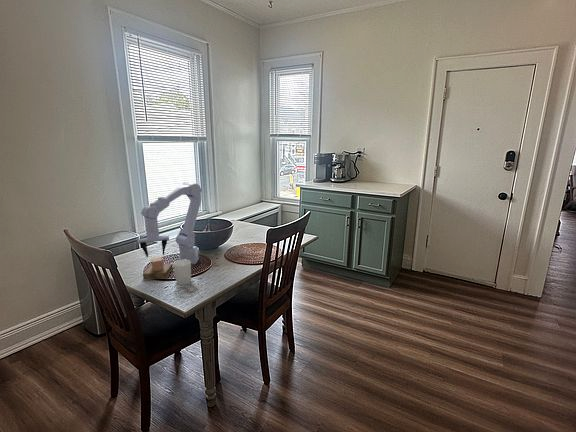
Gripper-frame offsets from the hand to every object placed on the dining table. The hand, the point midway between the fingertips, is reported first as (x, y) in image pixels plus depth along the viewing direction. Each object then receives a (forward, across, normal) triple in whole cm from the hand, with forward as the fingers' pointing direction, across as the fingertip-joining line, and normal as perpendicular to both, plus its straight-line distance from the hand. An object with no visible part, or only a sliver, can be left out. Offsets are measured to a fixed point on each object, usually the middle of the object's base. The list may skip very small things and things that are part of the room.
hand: (155, 255), depth 161 cm
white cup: (+10, -12, +16) cm, 23 cm away
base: (+9, 0, +3) cm, 10 cm away
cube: (+6, 0, +2) cm, 7 cm away
